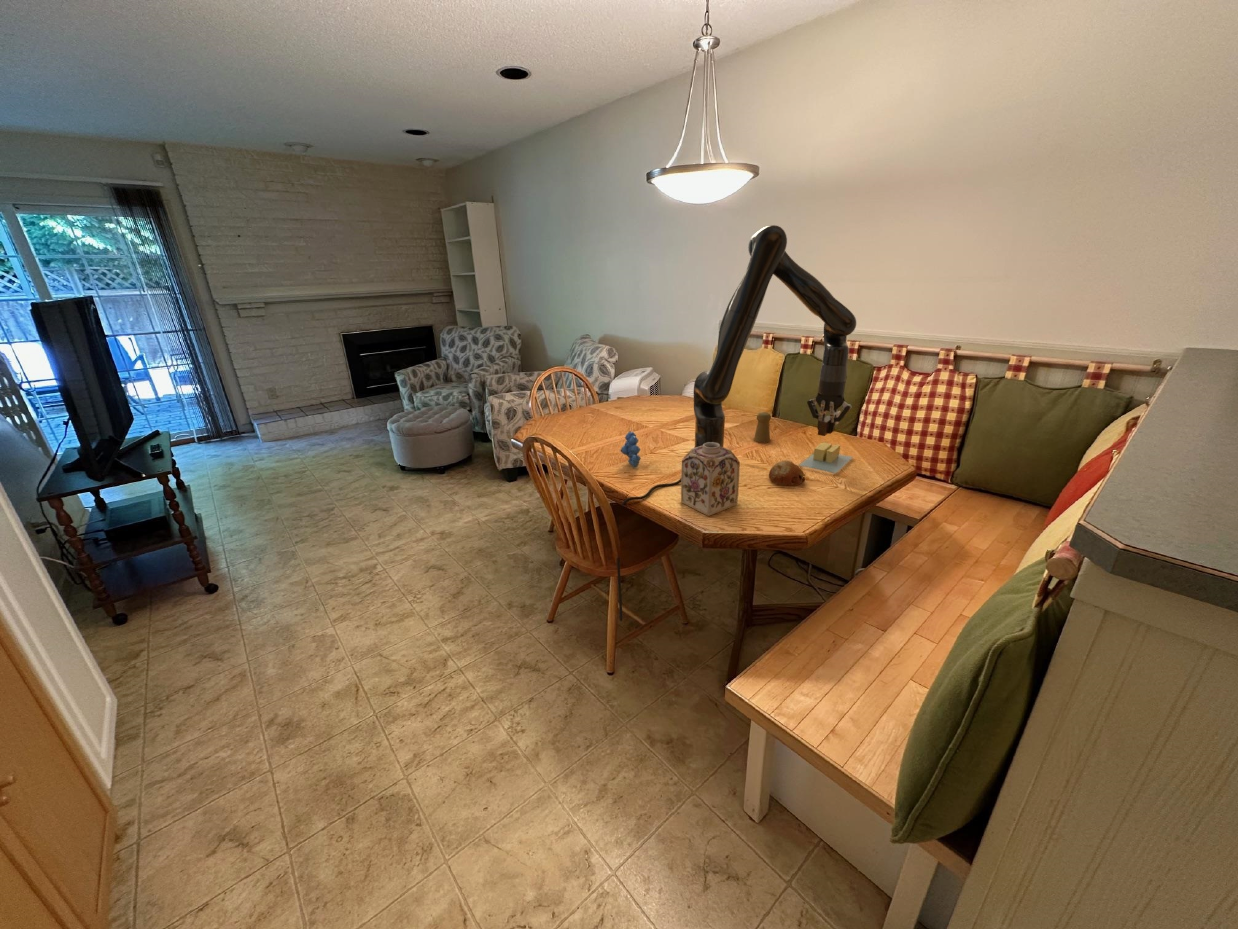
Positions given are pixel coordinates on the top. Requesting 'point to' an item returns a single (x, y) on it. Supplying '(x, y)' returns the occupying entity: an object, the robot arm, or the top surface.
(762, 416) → the cork
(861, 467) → the top surface
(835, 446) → the butter slice
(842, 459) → the butter dish
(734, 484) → the decorative jar
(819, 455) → the butter
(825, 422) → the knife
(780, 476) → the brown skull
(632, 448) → the grapes
